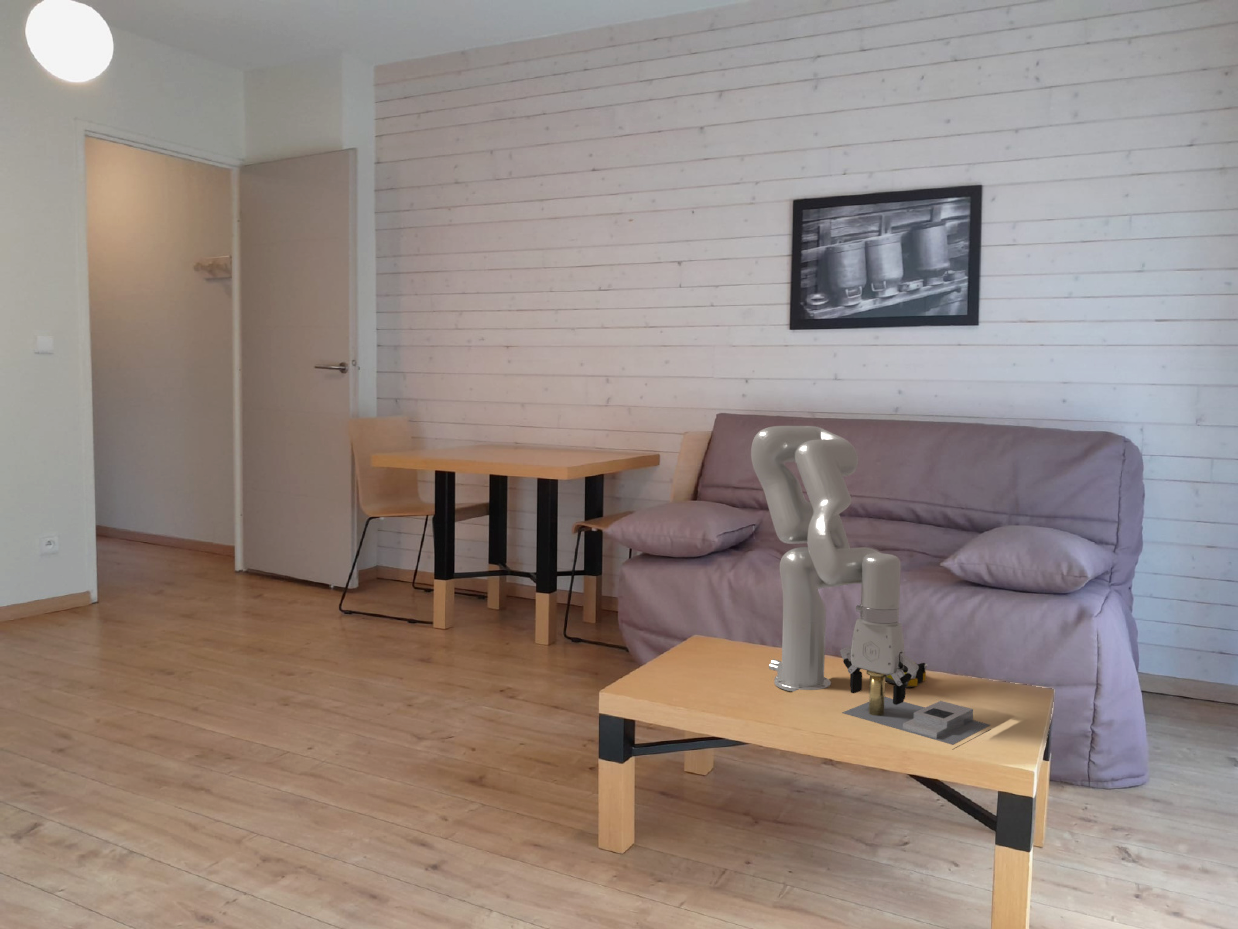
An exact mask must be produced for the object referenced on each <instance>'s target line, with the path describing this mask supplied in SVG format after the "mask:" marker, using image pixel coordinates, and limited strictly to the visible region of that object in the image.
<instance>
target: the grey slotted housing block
mask: <svg viewBox="0 0 1238 929" xmlns="http://www.w3.org/2000/svg"><path fill="white" fill-rule="evenodd" d="M973 720H974V708H971V707H966V706H962V705H959V704H955V703H951V702H948V701H947V702H946V701H942V700H938V701H937V702H934V703H931V704H930V705H928V706H925V708H923V709H921V710H919V711H916V712H914V717H913V719H911V720H909V721H907V722H905V723H903V729H904V730H907V731H911V732H914V733H918V734H921V735H925V736H928V737H932V738H935V739H937V738H939V737H941V736H943V735H945V734H947V733H949V732H951V731H953V730H955V729H957V728H959V727H961V726H963V725H966V724H968V723H970V722H972V721H973Z"/></svg>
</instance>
